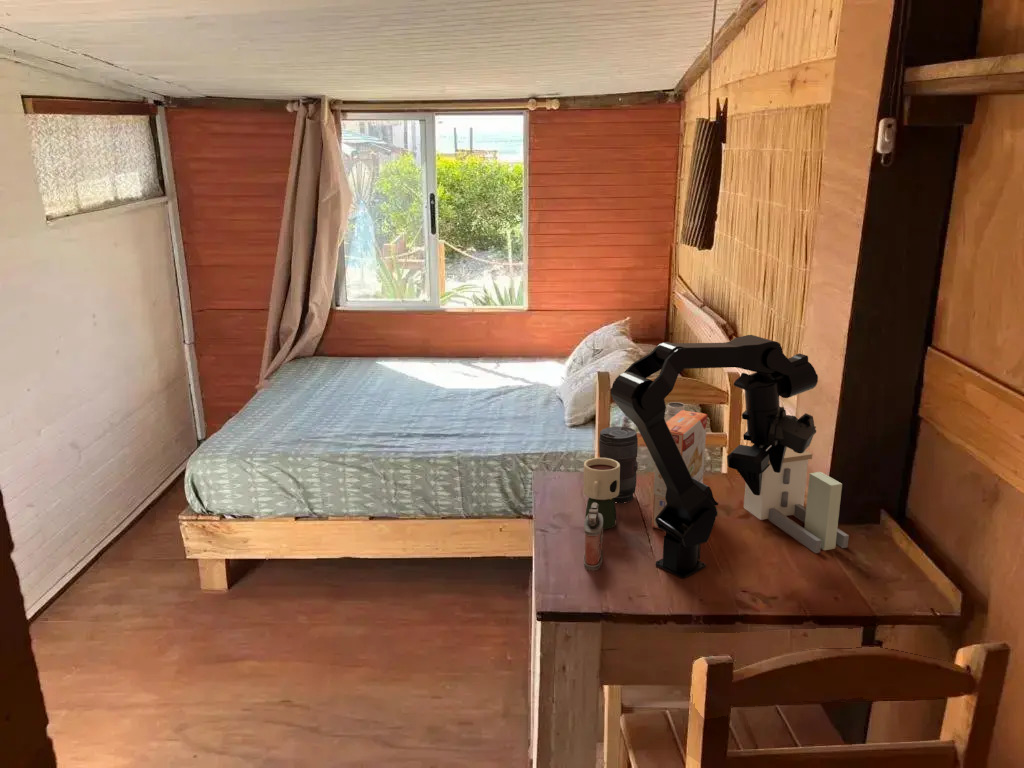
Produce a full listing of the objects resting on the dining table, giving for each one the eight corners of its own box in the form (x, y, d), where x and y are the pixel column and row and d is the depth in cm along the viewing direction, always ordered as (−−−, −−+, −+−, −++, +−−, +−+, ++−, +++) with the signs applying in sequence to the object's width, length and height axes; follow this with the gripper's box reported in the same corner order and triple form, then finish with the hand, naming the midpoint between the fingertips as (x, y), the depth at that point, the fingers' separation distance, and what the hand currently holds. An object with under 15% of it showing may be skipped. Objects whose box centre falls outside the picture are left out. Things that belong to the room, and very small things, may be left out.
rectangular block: (824, 550, 143) (831, 485, 140) (803, 536, 149) (809, 473, 145) (835, 548, 144) (842, 483, 140) (814, 534, 149) (820, 471, 146)
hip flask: (600, 571, 137) (601, 519, 135) (581, 569, 138) (582, 518, 135) (603, 549, 145) (604, 500, 142) (585, 548, 146) (586, 499, 143)
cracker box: (679, 535, 150) (684, 433, 144) (650, 528, 153) (654, 428, 147) (703, 508, 161) (708, 412, 156) (675, 502, 164) (680, 408, 159)
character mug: (612, 539, 149) (614, 476, 145) (576, 534, 151) (577, 472, 147) (623, 515, 159) (625, 456, 155) (589, 511, 161) (590, 452, 157)
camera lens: (614, 486, 173) (615, 422, 169) (643, 497, 167) (645, 431, 163) (590, 497, 167) (591, 431, 163) (619, 508, 162) (621, 441, 158)
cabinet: (806, 555, 142) (812, 489, 138) (740, 507, 161) (744, 448, 158) (856, 546, 145) (864, 481, 141) (785, 500, 164) (790, 442, 161)
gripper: (787, 433, 125) (791, 517, 131) (827, 390, 138) (829, 468, 144) (722, 424, 133) (729, 503, 138) (767, 384, 145) (771, 458, 151)
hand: (767, 483), depth 142 cm, fingers open, 9 cm apart
